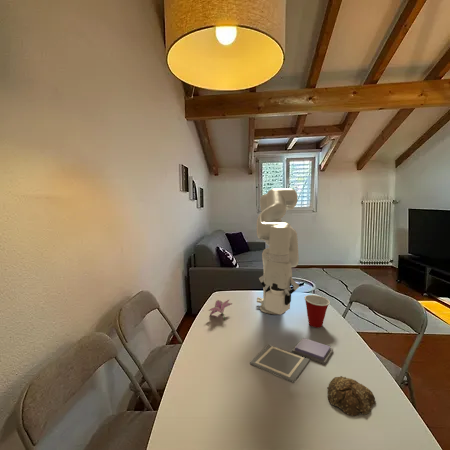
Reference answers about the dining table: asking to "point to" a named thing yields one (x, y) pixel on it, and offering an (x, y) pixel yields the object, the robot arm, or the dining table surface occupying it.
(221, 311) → the lily
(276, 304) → the medicine bottle
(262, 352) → the marked mat
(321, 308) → the plastic cup
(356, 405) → the bread roll
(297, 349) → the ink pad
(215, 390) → the dining table surface
